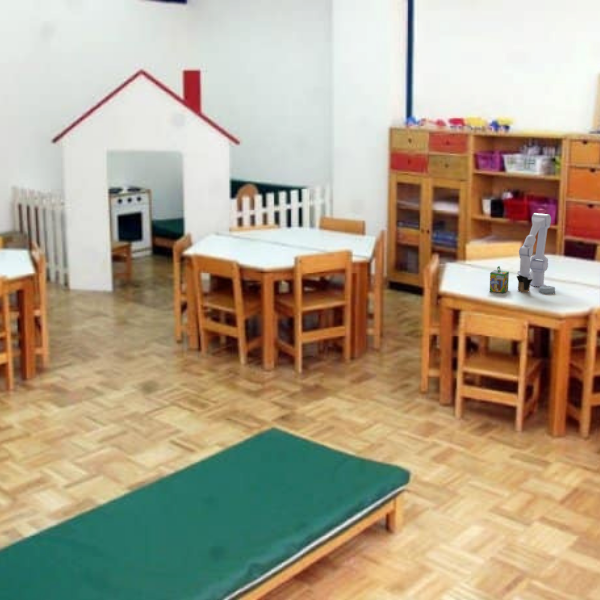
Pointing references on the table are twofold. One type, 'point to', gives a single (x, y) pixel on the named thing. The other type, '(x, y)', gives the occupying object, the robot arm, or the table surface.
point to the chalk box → (499, 281)
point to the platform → (547, 289)
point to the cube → (522, 287)
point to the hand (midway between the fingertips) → (523, 288)
